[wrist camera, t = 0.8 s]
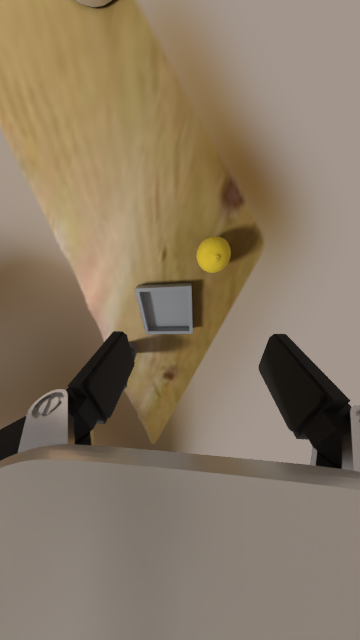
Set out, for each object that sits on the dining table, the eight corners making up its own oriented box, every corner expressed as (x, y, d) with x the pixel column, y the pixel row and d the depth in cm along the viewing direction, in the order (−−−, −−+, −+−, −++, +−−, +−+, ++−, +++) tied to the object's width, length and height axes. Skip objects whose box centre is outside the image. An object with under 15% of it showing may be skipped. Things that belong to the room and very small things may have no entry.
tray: (138, 285, 31) (134, 288, 29) (191, 282, 30) (191, 286, 28) (148, 328, 37) (145, 334, 35) (192, 327, 36) (192, 333, 34)
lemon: (196, 268, 28) (197, 278, 21) (196, 237, 25) (197, 237, 19) (223, 267, 28) (233, 276, 21) (226, 235, 25) (239, 234, 18)
